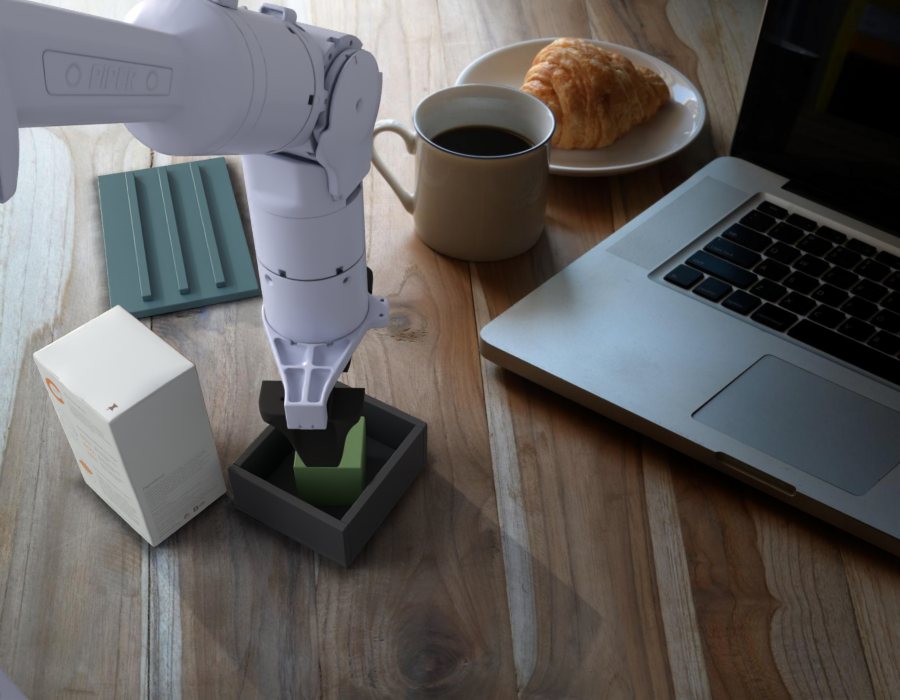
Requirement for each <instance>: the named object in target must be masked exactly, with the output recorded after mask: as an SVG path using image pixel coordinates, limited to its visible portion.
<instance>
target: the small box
mask: <svg viewBox="0 0 900 700" xmlns="http://www.w3.org/2000/svg"><path fill="white" fill-rule="evenodd" d="M32 357H33V360H34V362H35V365H36V367H37V370H38V371H39V374H40V377H41V379H42V382H43V384H44V386H45V388H46V391H47V393H48V395H49V398H50V400H51V402H52V405H53V408H54V410H55V412H56V415H57V417H58V420H59V422H60V424H61V427H62V429H63V432H64V434H65V436H66V438H67V441H68V443H69V445H70V448H71V450H72V453H73V455H74V459H75V460H76V462H77V465H78V468H79V470H80V472H81V475H82V477H83V479H84V482H85V484H86V485H87V486H88V487H89V488H90V489H91V490H92V491H93V492H95V493H96V495H97V496H98V497H100V498H101V499H102V500H103V501H104V502H105V503H106V504H107V505H108V506H109V507H110V508H111V509H112V510H113V511H114V512H115V513H116V514H117V515H118V516H119V517H121V518H122V519H123V520H124V521H125V522H126V523H127V524H128V525H129V526H130V527H131V528H132V529H133V530H134V531H135V532H136V533H137V534H138V535H140V536H141V538H143V539H144V540H145V541H146V542H147V543H148V544H149V545H150V546H152V547H154V548H156V547H157V546H159V545H160V544H161V543H162V542H164V541H165V540H166V539H167V538H169V537H170V536H172V535H173V534H174V533H175V532H177V531H178V530H179V529H181V528H183V526H184V525H186V524H187V523H189V522H190V521H191V520H192V519H193V518H195V517H196V516H197V515H199V514H200V513H201V512H202V511H204V510H205V509H206V508H207V507H209V506H210V505H211V504H212V503H214V502H215V501H216V500H218V499H219V498H221V496H223V495H224V494H225V493H226V492H228V491H227V490H228V489H227V485H226V481H225V477H224V473H223V469H222V465H221V462H220V458H219V453H218V450H217V446H216V442H215V438H214V434H213V430H212V426H211V425H212V424H211V422H210V417H209V415H208V414H209V413H208V410H207V406H206V402H205V399H204V395H203V390H202V387H201V383H200V379H199V374H198V370H197V365H196V363H194V361H192V360H190V359H189V358H188V357H186V356H185V355H184V354H183V353H181V352H180V351H179V350H177V349H176V348H175V347H174V346H173V345H171V344H170V343H168V342H167V341H166V340H165V339H163V338H162V337H160V335H158V334H157V333H156V332H155V331H153V330H152V329H151V328H149V327H148V326H147V325H146V324H144V323H143V322H142V321H140V319H139V318H135V317H134V316H133V315H131V314H130V313H129V312H128V311H126V310H125V309H124V308H122V307H121V306H120V305H117V306H115V307H113V308H112V309H111V308H110V309H108V310H106V311H105V312H103V313H101V314H98V316H96V317H94V318H92V319H91V320H89V321H87V322H85V323H84V324H82V325H80V326H79V327H77V328H75V329H74V330H72V331H70V332H69V333H67V334H65V335H63V336H61V337H60V338H58V339H56V340H54V341H53V342H51V343H49V344H48V345H46V346H44V347H42V348H41V349H38V350H37V351H35V352H33V354H32Z"/></svg>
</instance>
